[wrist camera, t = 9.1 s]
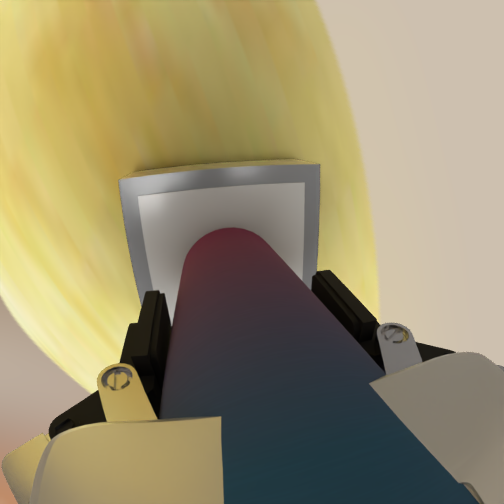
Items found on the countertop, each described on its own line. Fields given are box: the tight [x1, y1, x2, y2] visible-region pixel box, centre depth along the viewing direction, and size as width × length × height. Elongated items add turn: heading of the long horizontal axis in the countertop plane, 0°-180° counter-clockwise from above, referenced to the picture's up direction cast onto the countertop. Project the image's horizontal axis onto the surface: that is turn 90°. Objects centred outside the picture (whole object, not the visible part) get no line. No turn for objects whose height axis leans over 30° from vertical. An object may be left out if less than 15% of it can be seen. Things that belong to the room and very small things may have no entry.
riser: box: [118, 159, 320, 325], centre depth 19 cm, size 11×11×4 cm
